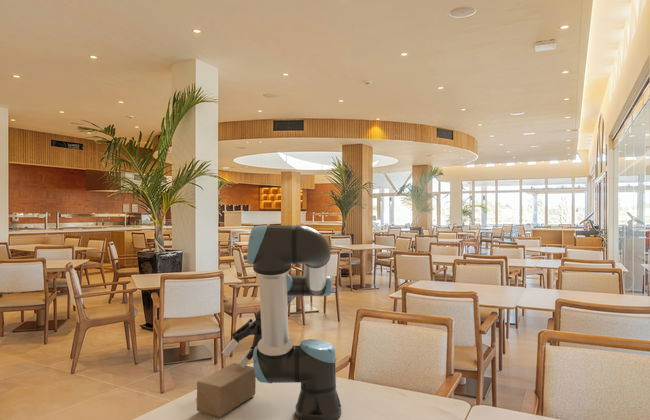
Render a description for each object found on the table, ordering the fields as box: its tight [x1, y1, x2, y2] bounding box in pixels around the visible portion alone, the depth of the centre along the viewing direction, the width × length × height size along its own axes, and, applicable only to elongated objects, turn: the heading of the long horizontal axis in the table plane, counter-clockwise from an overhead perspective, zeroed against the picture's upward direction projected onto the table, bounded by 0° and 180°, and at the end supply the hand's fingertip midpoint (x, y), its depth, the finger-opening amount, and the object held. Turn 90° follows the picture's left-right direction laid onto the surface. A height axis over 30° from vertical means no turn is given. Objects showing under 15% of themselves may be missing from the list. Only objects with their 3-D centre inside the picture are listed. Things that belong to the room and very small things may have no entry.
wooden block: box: [196, 362, 257, 418], centre depth 161 cm, size 10×10×20 cm
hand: (231, 360), depth 172 cm, fingers open, 13 cm apart
